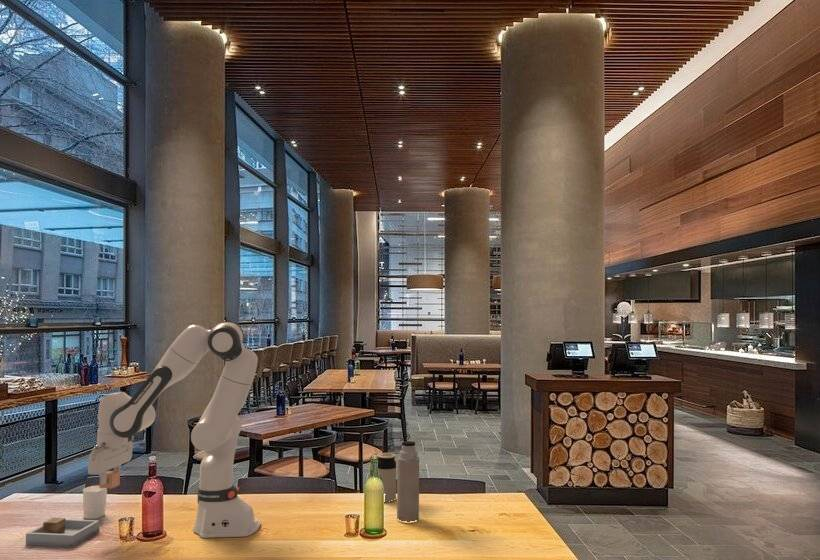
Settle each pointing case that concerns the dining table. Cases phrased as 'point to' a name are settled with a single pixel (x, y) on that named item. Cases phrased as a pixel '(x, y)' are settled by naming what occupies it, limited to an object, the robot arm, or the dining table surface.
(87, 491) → the white cup
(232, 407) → the robot arm
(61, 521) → the walnut block
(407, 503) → the thermos bottle
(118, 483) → the terracotta block
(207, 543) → the dining table surface
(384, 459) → the travel mug
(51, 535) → the tray
